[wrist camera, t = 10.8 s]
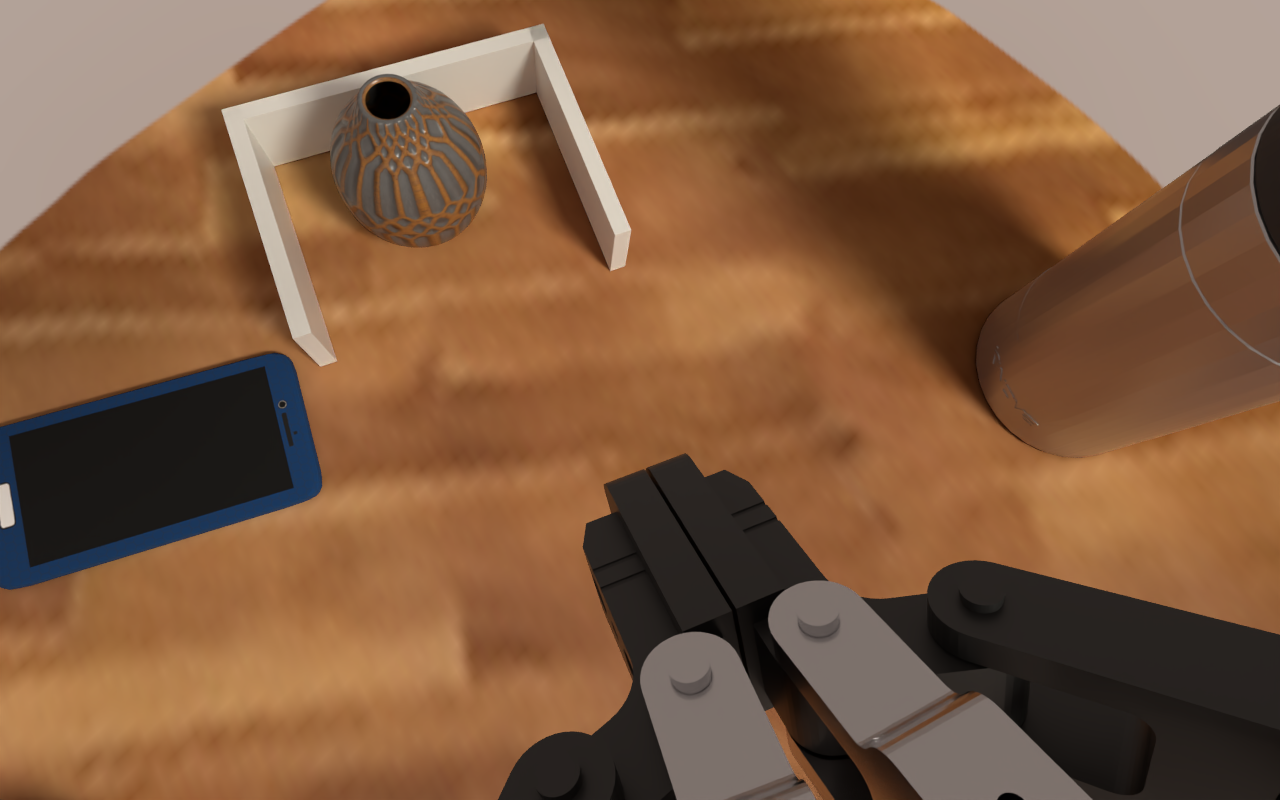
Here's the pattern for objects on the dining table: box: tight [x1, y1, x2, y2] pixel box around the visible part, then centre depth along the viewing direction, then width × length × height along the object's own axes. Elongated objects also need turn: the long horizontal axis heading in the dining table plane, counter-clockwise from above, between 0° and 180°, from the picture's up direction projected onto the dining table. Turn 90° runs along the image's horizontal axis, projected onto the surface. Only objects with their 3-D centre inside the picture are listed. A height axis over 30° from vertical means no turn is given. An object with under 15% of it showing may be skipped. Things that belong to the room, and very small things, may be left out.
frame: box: [222, 24, 631, 367], centre depth 39 cm, size 16×12×4 cm
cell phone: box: [0, 353, 322, 590], centre depth 36 cm, size 7×14×1 cm, turn 109°
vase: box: [330, 74, 487, 247], centre depth 36 cm, size 7×7×9 cm
